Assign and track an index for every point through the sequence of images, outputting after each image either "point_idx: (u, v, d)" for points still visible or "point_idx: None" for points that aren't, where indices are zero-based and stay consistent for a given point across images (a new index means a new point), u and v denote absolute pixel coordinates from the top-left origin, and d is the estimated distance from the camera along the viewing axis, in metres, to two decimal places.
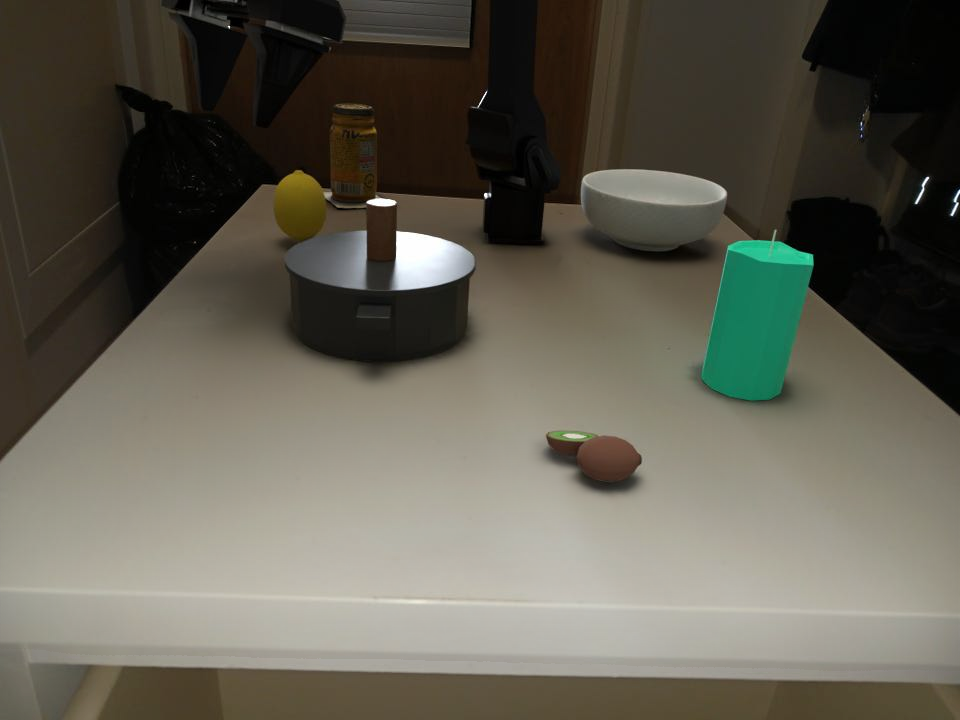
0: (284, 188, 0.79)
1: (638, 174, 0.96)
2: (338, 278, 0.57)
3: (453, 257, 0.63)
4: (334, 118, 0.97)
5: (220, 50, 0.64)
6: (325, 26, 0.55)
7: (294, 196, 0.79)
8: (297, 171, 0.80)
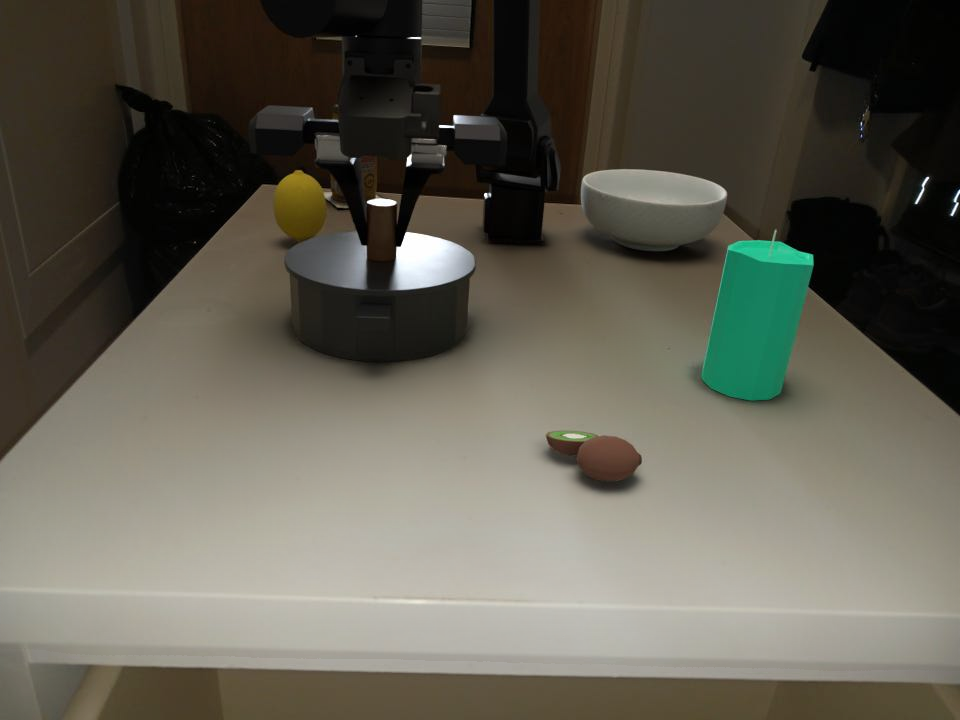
0: (284, 188, 0.79)
1: (638, 174, 0.96)
2: (338, 278, 0.57)
3: (453, 257, 0.63)
4: (334, 118, 0.97)
5: (360, 179, 0.60)
6: None
7: (294, 196, 0.79)
8: (297, 171, 0.80)
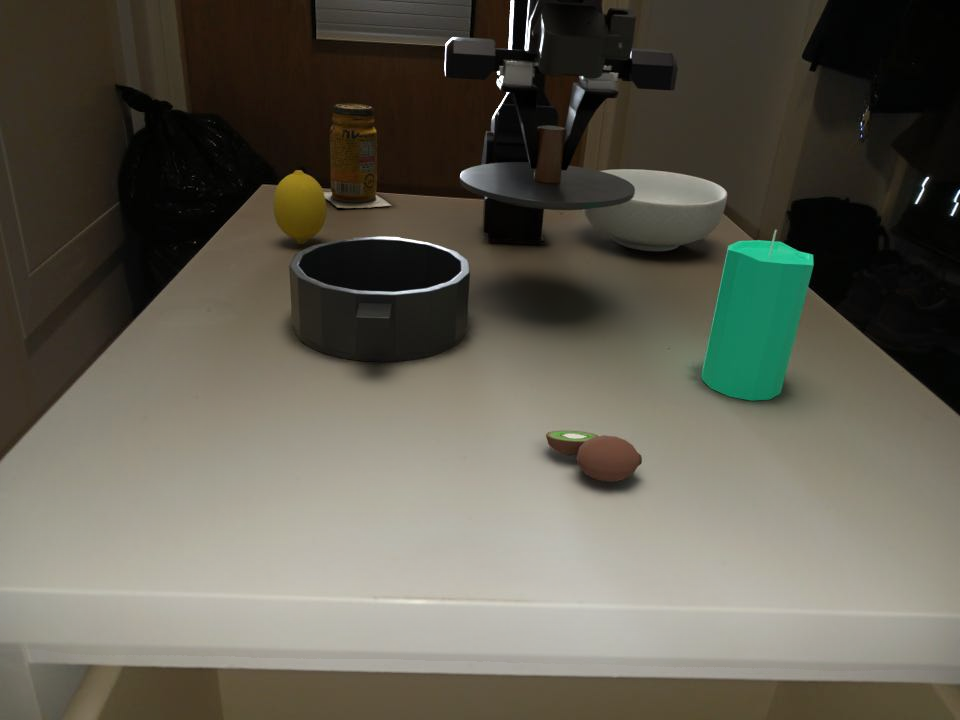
0: (284, 188, 0.79)
1: (638, 174, 0.96)
2: (520, 193, 0.62)
3: (611, 181, 0.68)
4: (334, 118, 0.97)
5: None
6: None
7: (294, 196, 0.79)
8: (297, 171, 0.80)
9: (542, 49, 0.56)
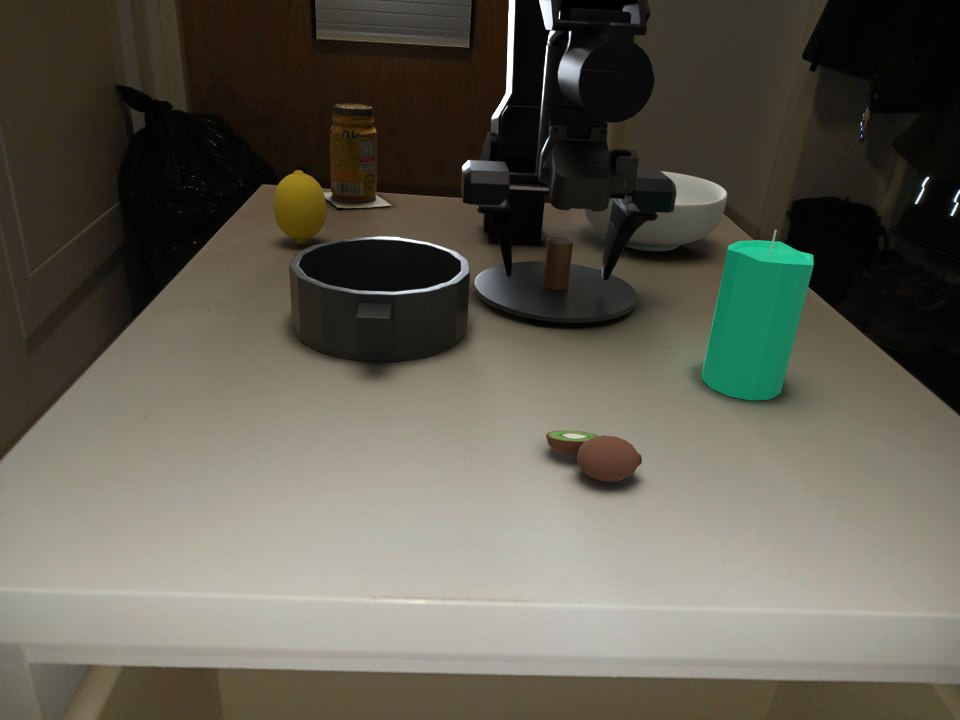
0: (284, 188, 0.79)
1: None
2: (532, 306, 0.67)
3: (614, 286, 0.74)
4: (334, 118, 0.97)
5: None
6: None
7: (294, 196, 0.79)
8: (297, 171, 0.80)
9: (553, 187, 0.61)
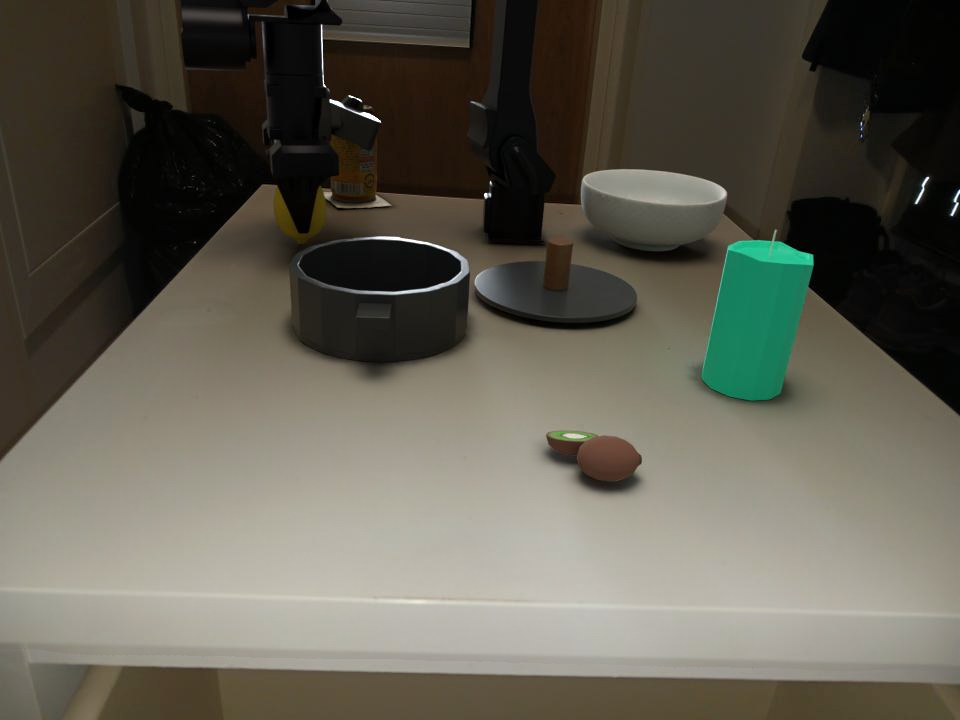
0: None
1: (638, 174, 0.96)
2: (532, 306, 0.67)
3: (614, 286, 0.74)
4: None
5: None
6: None
7: None
8: None
9: (371, 134, 0.78)
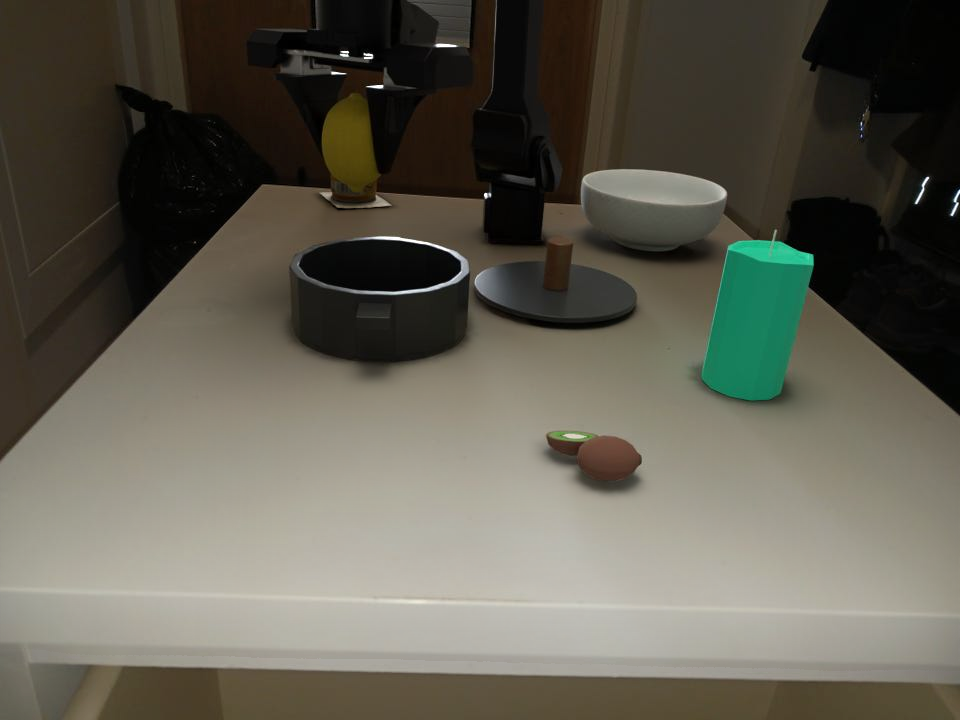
0: (356, 116, 0.60)
1: (638, 174, 0.96)
2: (532, 306, 0.67)
3: (614, 286, 0.74)
4: None
5: None
6: None
7: None
8: (356, 94, 0.61)
9: (434, 39, 0.64)
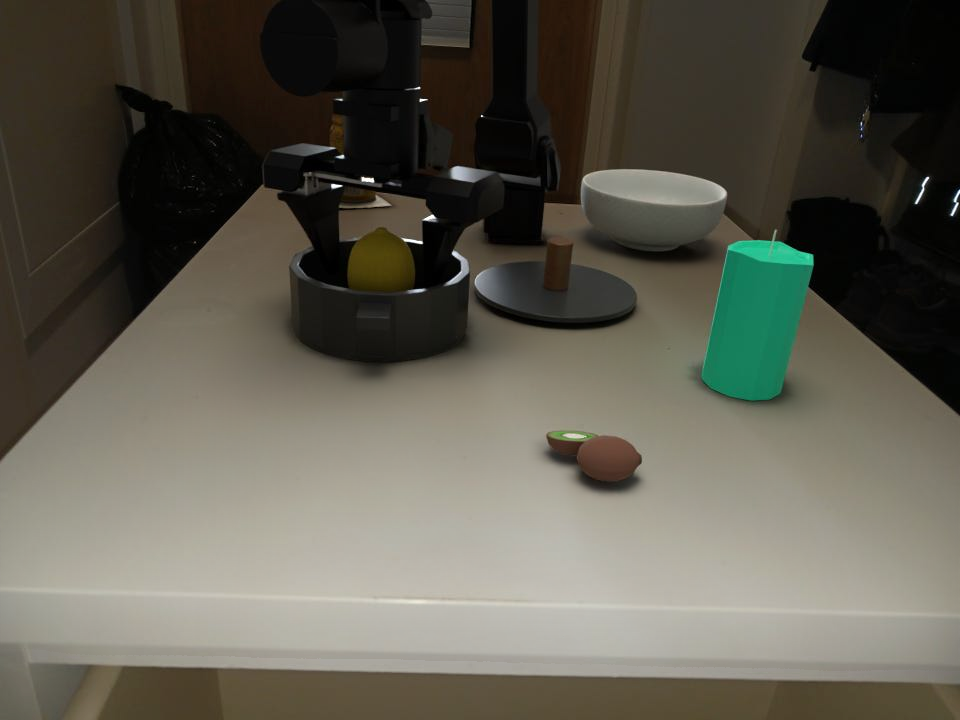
0: (387, 253, 0.60)
1: (638, 174, 0.96)
2: (532, 306, 0.67)
3: (614, 286, 0.74)
4: (334, 118, 0.97)
5: None
6: None
7: (402, 260, 0.61)
8: (383, 228, 0.61)
9: (449, 151, 0.64)
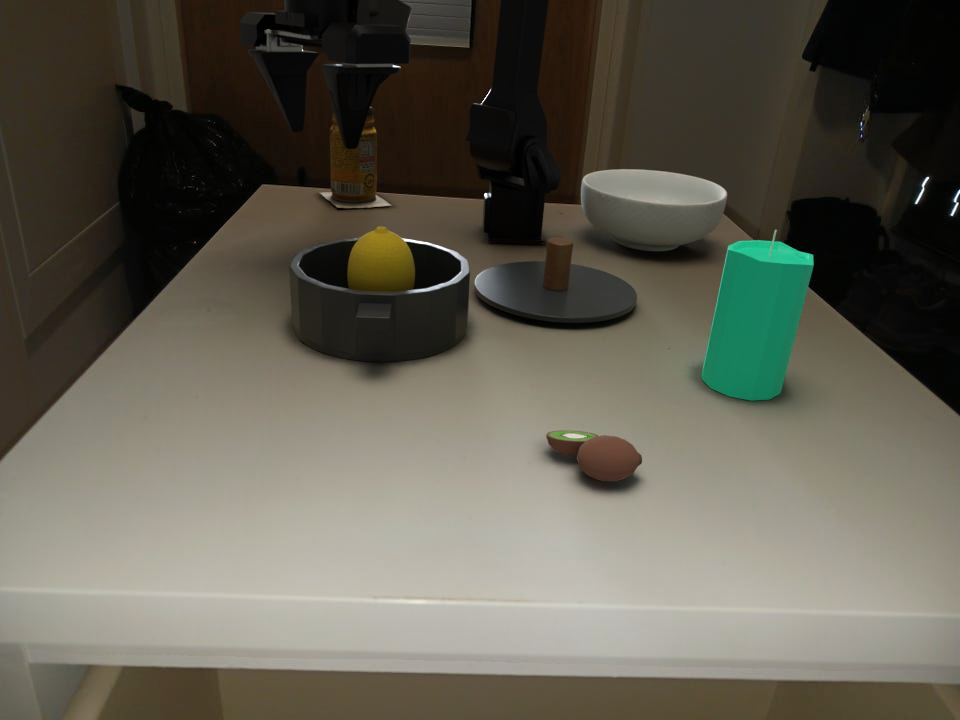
0: (387, 253, 0.60)
1: (638, 174, 0.96)
2: (532, 306, 0.67)
3: (614, 286, 0.74)
4: (334, 118, 0.97)
5: None
6: None
7: (402, 260, 0.61)
8: (383, 228, 0.61)
9: (404, 22, 0.68)
